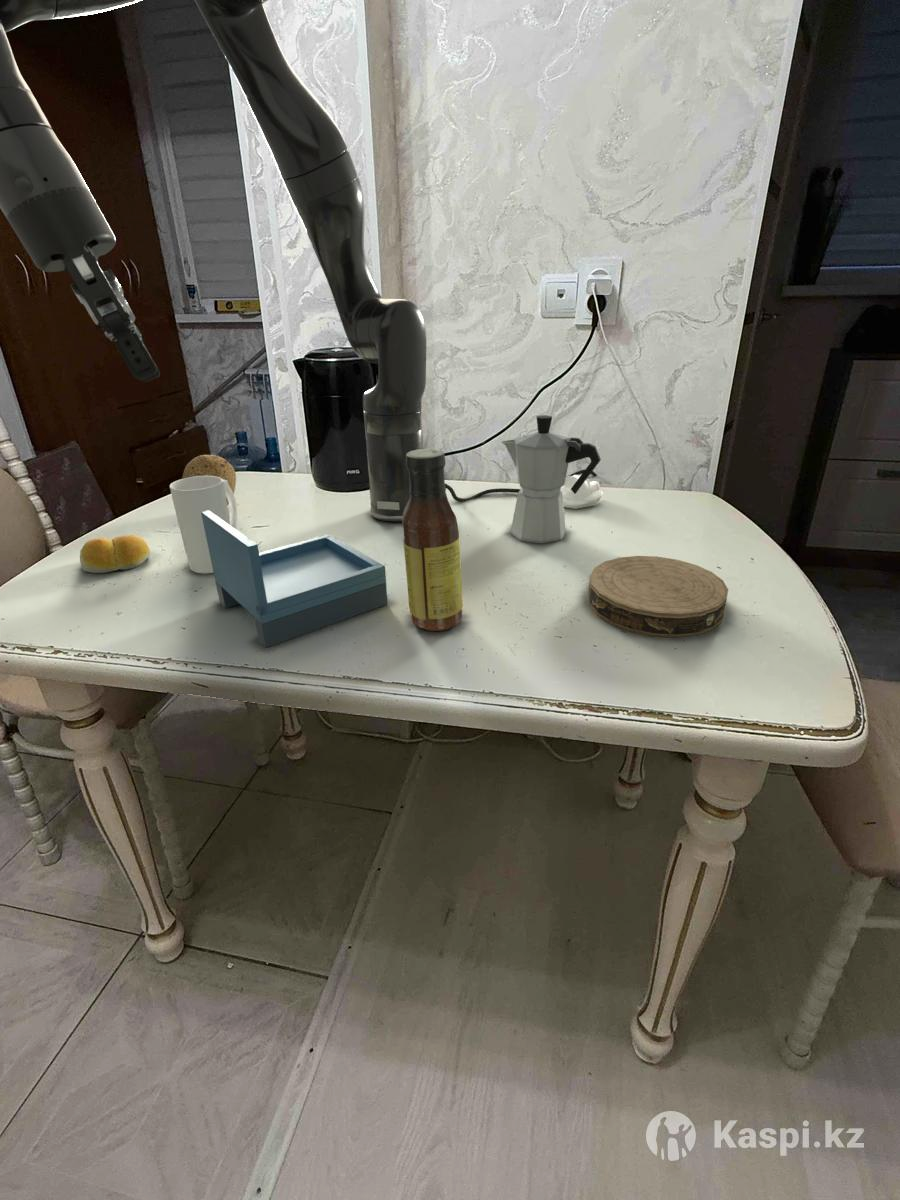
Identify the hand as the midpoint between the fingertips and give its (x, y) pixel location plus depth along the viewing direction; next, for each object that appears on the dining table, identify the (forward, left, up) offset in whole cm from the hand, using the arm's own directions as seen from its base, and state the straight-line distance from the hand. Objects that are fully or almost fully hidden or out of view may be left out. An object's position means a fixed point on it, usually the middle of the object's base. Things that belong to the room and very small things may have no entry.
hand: (150, 378), depth 63 cm
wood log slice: (-44, +33, -27) cm, 61 cm away
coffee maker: (-51, +8, -27) cm, 58 cm away
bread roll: (+4, -24, -27) cm, 37 cm away
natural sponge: (-15, -37, -27) cm, 48 cm away
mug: (-8, -15, -27) cm, 32 cm away
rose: (-67, 0, -27) cm, 72 cm away
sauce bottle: (-21, +19, -27) cm, 39 cm away
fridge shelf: (-11, +5, -27) cm, 30 cm away
